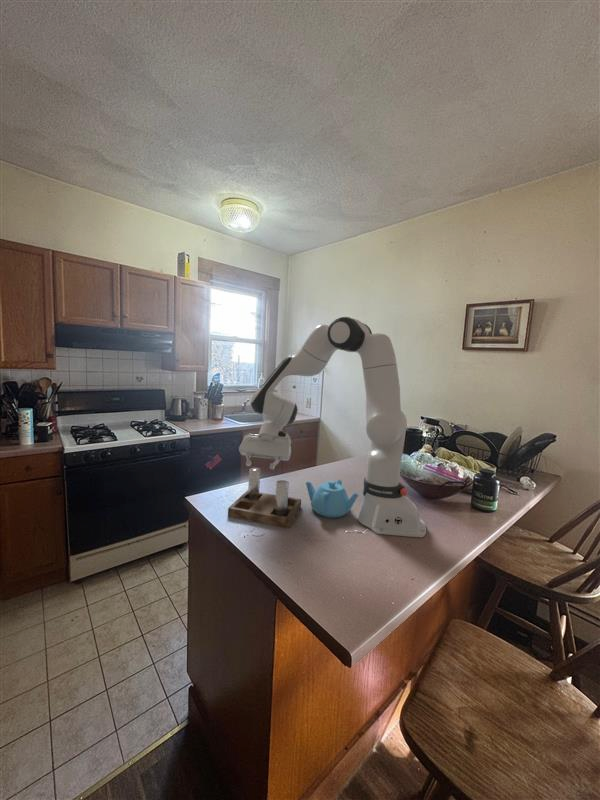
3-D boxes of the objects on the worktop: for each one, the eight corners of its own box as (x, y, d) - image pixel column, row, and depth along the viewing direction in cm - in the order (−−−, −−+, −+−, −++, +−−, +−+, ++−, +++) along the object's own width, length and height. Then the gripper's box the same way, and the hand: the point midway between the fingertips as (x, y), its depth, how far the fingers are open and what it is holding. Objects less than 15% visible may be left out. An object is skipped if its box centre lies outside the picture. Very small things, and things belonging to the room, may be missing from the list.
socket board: (300, 507, 117) (301, 499, 116) (288, 528, 101) (289, 519, 101) (247, 497, 122) (247, 490, 121) (227, 516, 106) (228, 508, 106)
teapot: (303, 502, 121) (304, 475, 120) (339, 499, 126) (341, 473, 125) (317, 522, 107) (319, 491, 106) (357, 518, 111) (360, 488, 110)
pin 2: (287, 518, 108) (290, 481, 106) (284, 524, 104) (286, 485, 102) (276, 516, 109) (278, 479, 107) (272, 522, 105) (274, 483, 103)
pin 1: (260, 502, 118) (262, 468, 117) (256, 507, 114) (258, 472, 113) (250, 500, 119) (251, 467, 118) (245, 505, 115) (247, 470, 114)
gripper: (243, 428, 128) (231, 459, 120) (292, 434, 124) (284, 466, 115) (247, 437, 133) (236, 467, 125) (294, 443, 129) (286, 474, 120)
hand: (259, 467), depth 120 cm, fingers open, 8 cm apart
